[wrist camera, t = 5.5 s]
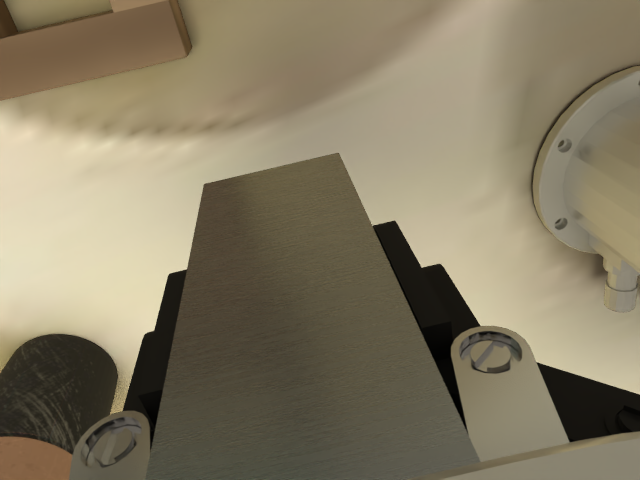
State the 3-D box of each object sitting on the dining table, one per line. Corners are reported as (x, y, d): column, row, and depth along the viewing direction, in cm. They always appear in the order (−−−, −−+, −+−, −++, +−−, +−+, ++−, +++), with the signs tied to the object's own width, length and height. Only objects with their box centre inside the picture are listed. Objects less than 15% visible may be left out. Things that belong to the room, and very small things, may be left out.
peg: (360, 265, 17) (541, 770, 6) (241, 293, 17) (228, 846, 6) (338, 152, 15) (551, 614, 4) (204, 184, 15) (96, 725, 4)
